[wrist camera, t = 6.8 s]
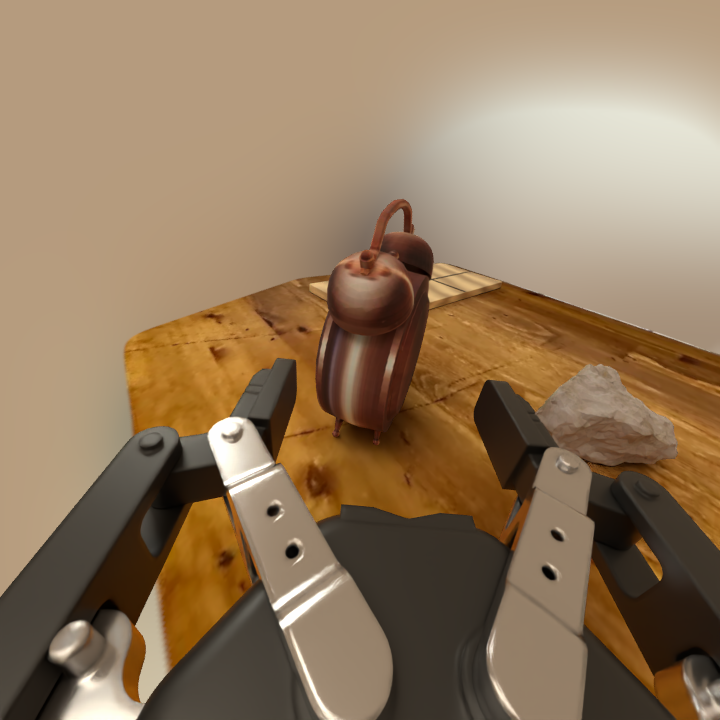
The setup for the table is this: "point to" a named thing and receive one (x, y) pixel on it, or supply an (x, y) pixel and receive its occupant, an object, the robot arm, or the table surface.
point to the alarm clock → (374, 326)
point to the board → (441, 285)
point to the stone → (606, 421)
